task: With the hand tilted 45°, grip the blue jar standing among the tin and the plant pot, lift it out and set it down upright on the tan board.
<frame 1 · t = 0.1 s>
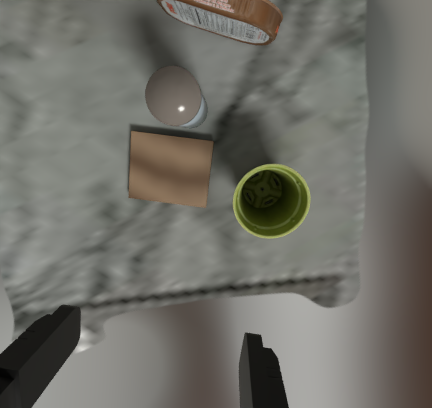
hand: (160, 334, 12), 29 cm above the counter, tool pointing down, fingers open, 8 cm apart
tin: (219, 27, 35), on the counter
plant pot: (262, 189, 40), on the counter
blue jar: (189, 109, 38), on the counter
tan board: (171, 169, 40), on the counter
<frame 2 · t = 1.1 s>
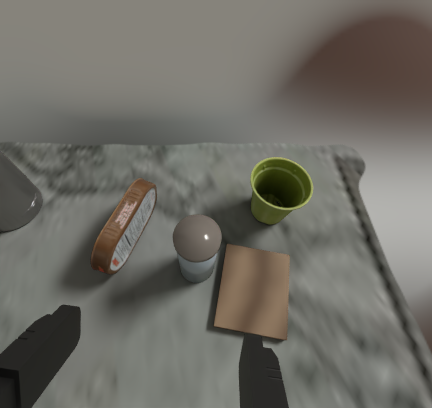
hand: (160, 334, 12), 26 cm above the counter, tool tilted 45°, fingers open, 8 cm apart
tin: (134, 235, 42), on the counter
plant pot: (267, 209, 46), on the counter
blue jar: (197, 265, 40), on the counter
tan board: (253, 289, 39), on the counter
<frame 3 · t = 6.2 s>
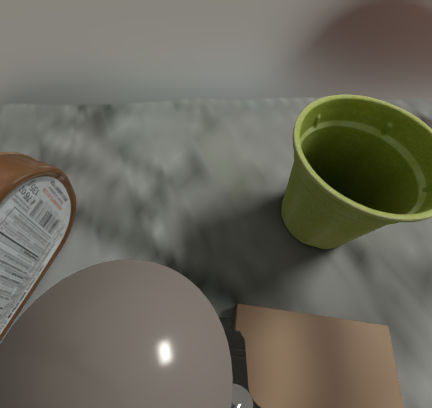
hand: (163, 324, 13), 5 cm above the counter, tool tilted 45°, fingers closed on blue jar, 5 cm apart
tin: (22, 290, 18), on the counter
plant pot: (315, 217, 23), on the counter
blue jar: (166, 363, 16), on the counter, touching gripper
when the fingers open (7 cm above the counter, at t = 12.1 s): blue jar drops 1 cm, resting on tan board.
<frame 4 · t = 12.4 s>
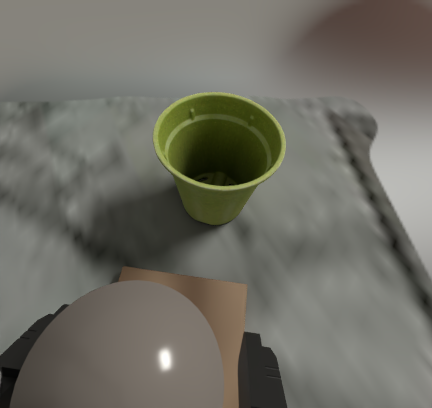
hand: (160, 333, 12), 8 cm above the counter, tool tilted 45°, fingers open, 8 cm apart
plant pot: (213, 199, 26), on the counter
blue jar: (165, 365, 17), point 1 cm above the counter, touching tan board
tan board: (169, 362, 19), on the counter
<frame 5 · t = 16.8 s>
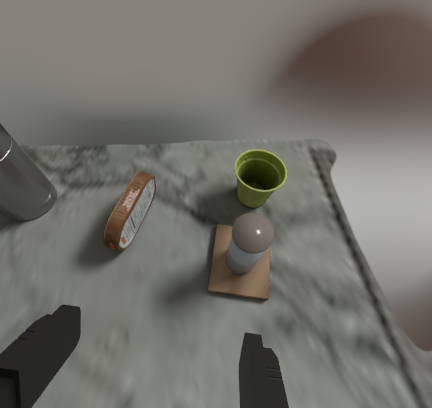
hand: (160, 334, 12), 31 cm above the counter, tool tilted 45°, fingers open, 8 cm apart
tin: (137, 220, 49), on the counter
plant pot: (251, 195, 54), on the counter
blue jar: (240, 259, 45), point 1 cm above the counter, touching tan board
tan board: (240, 261, 46), on the counter
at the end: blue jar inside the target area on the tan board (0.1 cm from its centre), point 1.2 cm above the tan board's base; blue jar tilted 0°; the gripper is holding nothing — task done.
